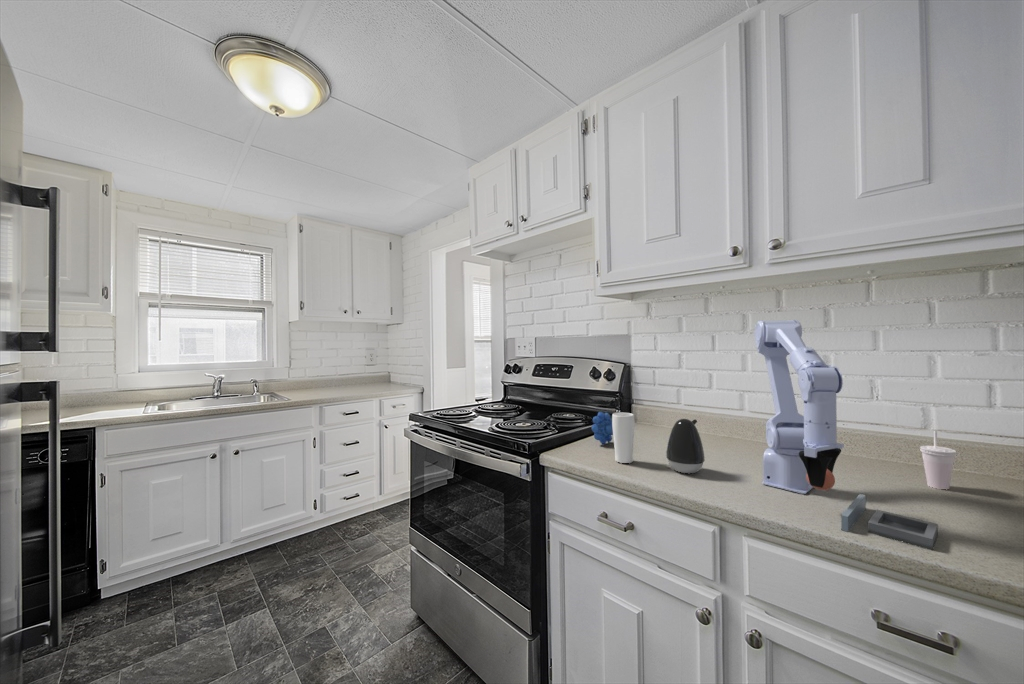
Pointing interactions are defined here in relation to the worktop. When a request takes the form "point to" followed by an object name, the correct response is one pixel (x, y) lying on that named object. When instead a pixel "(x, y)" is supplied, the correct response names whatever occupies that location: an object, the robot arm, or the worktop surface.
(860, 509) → the low wall
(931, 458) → the smoothie
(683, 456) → the black egg-shaped device
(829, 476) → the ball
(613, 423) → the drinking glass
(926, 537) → the tray
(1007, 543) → the worktop surface
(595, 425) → the grapes
